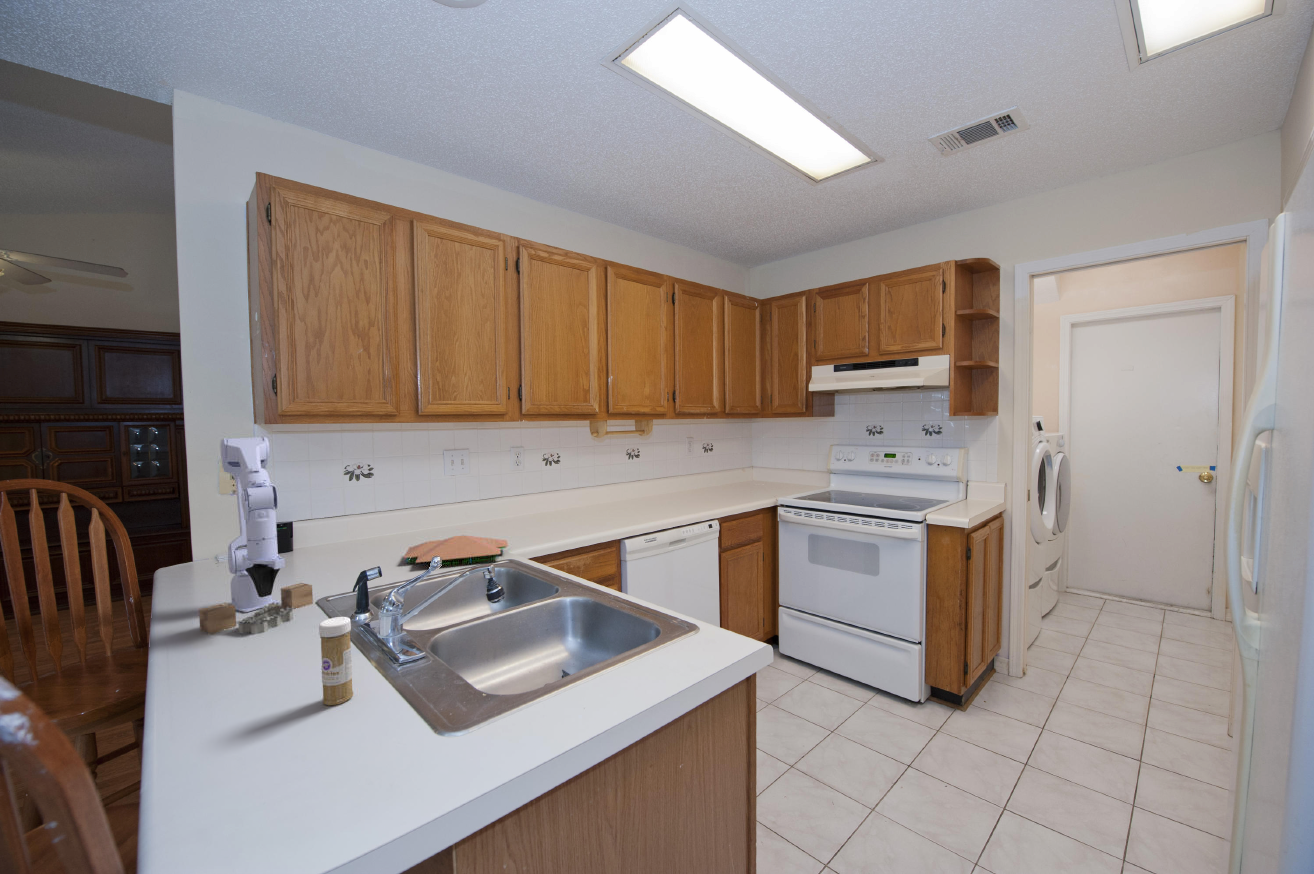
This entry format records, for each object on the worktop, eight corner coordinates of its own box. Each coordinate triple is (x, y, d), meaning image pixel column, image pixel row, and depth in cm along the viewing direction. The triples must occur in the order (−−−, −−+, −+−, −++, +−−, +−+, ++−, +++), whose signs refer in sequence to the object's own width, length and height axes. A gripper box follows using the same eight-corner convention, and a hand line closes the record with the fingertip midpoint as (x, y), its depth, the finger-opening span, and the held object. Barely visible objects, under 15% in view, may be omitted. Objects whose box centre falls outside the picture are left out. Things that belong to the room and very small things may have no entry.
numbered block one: (281, 607, 138) (280, 587, 138) (302, 601, 143) (301, 582, 143) (292, 610, 136) (291, 589, 136) (312, 603, 140) (311, 584, 140)
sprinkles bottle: (316, 706, 88) (312, 626, 88) (333, 692, 93) (329, 616, 92) (344, 706, 88) (340, 625, 88) (359, 691, 93) (356, 615, 92)
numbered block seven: (200, 630, 124) (198, 608, 123) (225, 623, 128) (224, 601, 128) (210, 634, 121) (209, 611, 121) (236, 626, 126) (235, 604, 125)
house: (509, 562, 178) (508, 538, 177) (400, 574, 167) (399, 548, 167) (506, 547, 199) (505, 525, 199) (409, 556, 189) (408, 533, 189)
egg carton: (275, 617, 132) (274, 600, 132) (300, 619, 130) (299, 602, 130) (231, 634, 122) (230, 616, 121) (257, 636, 120) (256, 618, 120)
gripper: (226, 539, 125) (229, 596, 126) (258, 544, 118) (262, 605, 119) (260, 533, 131) (263, 588, 132) (293, 537, 124) (296, 595, 125)
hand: (265, 595), depth 126 cm, fingers closed
